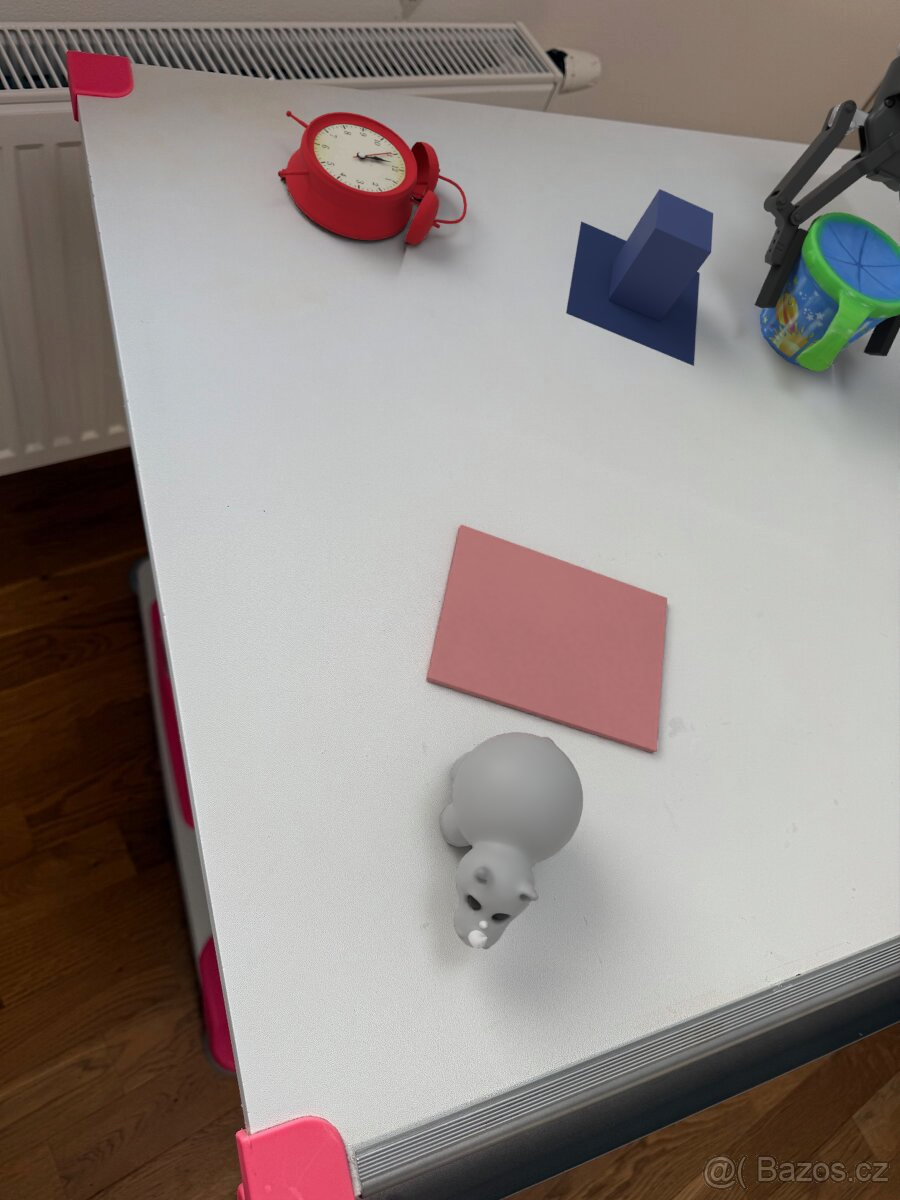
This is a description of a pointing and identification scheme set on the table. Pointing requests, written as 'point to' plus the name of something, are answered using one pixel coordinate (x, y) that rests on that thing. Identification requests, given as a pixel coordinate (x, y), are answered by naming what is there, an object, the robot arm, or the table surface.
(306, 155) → the alarm clock
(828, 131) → the robot arm
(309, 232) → the table surface
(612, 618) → the rose mat
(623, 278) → the navy block
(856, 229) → the snack cup
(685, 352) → the navy mat
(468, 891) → the chubby cartoon animal
